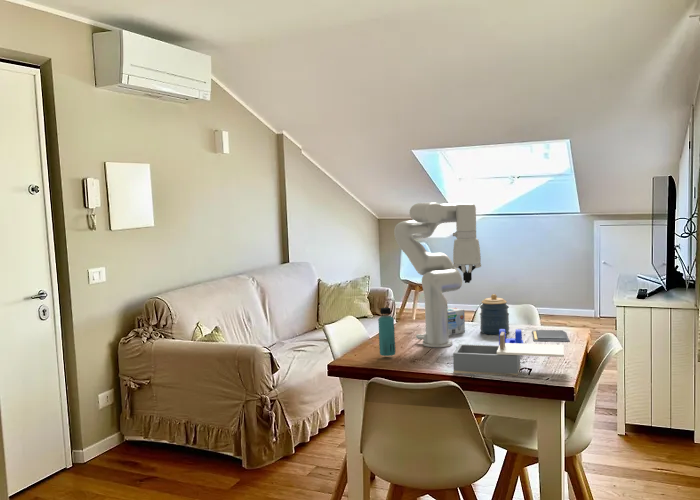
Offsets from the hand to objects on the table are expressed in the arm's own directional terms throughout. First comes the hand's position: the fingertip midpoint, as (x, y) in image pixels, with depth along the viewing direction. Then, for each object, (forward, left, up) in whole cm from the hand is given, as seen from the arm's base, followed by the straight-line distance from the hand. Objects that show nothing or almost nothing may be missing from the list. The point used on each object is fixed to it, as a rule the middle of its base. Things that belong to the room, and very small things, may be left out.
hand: (467, 282), depth 235 cm
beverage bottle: (-31, -9, -29) cm, 43 cm away
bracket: (+15, +15, -29) cm, 36 cm away
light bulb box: (-14, +40, -29) cm, 52 cm away
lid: (+24, -18, -22) cm, 37 cm away
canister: (+5, +44, -29) cm, 53 cm away
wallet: (+29, +38, -30) cm, 57 cm away
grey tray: (+9, -18, -29) cm, 35 cm away
